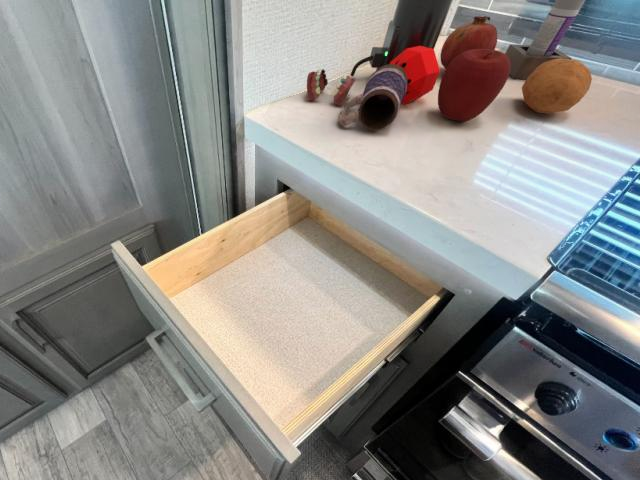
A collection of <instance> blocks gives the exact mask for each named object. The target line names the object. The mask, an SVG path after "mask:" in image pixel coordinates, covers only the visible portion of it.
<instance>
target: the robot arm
mask: <svg viewBox="0 0 640 480" xmlns="http://www.w3.org/2000/svg"><path fill="white" fill-rule="evenodd" d="M452 3H453V0H397V4H396V8H395V11H394V16H393V18H392V19H391V20H390V21H389V23H388V25H387V30H386V33H385V36H384V41H383V44H382V47H381V46H372V47H371V52H370V56H367V57H364V58H362V59H360V60H359V61H357V62H356V63H355V64H354V66H353V68H352V70H351V73H350V75H349V76H350V77H354V76H355V73H356V71H357V69H358V68H359V67H360V66H361V65H362V64H365V63H368V62H369V64H370V67H371V69H375V71H376V70H377V69H378V68H380V67H382V66H384V65H388V64H390V62H391V61H392V60H393V59H395V58H396V57H397V56H398V55H399V54H401V53H402V52H403V51H404V50H405V49H407V48H412V47H416V46H423V47H427V48H431V49H434V50H435V47H436V44H437V42H438V40H439V37H440V35H441V32H442V29H443V26H444V24H445V22H446V19H447V17H448V13H449V12H450V8H451V6H452Z"/></svg>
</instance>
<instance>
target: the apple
mask: <svg viewBox="0 0 640 480" xmlns="http://www.w3.org/2000/svg"><path fill="white" fill-rule="evenodd" d="M505 53H506V52H503V51H500V50H496V49H495V50H491V49H473V50H468V51H465V52H463V53H462V54H460V55H458V56H456V57H455V58H454V59H453V60H452V61H451V62H450V64H449V65H448V66H447V68H444V72H443V74H442V76H441V80H440V83H439V87H438V93H437V107H438V110H439V112H440V114H441V115H442V116H443V117H445V118H447V119H450V120H453V121H458V122H469V121H471V120H473V119H475V118H477V117H478V116H479V115H481V114H482V113H483V112H484V111H485V110H487V109H488V107H489V106H490V105H491V104H492V103H493V102H494V101H495V100H496V98H497V97H498V96H499V94H500V93H501V91H502V90H503V88H504V87H505V85H506V83H507V81H508V80H509V76H510V75H509V73H510V60H509V58H508V56H507V55H506V54H505Z"/></svg>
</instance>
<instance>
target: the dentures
mask: <svg viewBox="0 0 640 480" xmlns="http://www.w3.org/2000/svg"><path fill="white" fill-rule="evenodd" d="M355 82H356V79H355V78H354V77H353V78H351V76H350V75H349V74H347V73H344V75H343V76H342V78H340V81H339V82H338V83H337V85H336V87H335V88H334V89H333V91H332V93H331V94H332V96H333V102H334V103H335V104H336V105H338V106H340V105H341V104H342V102H343V101H344V100H345V98H346V97H347V95H348V94H349V92H350V90H351V89H352V87H353V86H354V83H355ZM328 84H329V81H328V78H327V74H326V70H325V68H319V69H318V70H316V71H314V70H313V71H311V72H308V74H307V78H306V92H307V100H308V102H309V101H313V100H316V99H317V98H318V97H319V96H320V94H321V93H322V91H324V90H325V89H326V87H327V85H328Z"/></svg>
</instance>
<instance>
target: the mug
mask: <svg viewBox="0 0 640 480" xmlns="http://www.w3.org/2000/svg"><path fill="white" fill-rule="evenodd" d="M407 82H408V79H407V75H406V72H405V71H404V69H403V68H401V67H400V66H398V65H394V64H388V65H384V66H382V67H380V68H378V69H377V70H376V69H375V70H374V71H373V72H372V74H371V76H370V77H369V78H368V80H367V82H366V83H365V87H364V90H363V93H361V94H358V95H356V96H353V97H351V98H349V99H348V100H346V102H345V104H344V106H343V107H342V109H341V110H340V112H339V113H338V117H337V121H338V123H339V125H340V127H346V126H349V125H352V124H353V123H355V122H356V121H357V120H359V123H360V124H361V125H362V127H363V128H365V129H366V130H369V131H372V132H374V131H380V130H381V131H382V130H383V129H386V128H387V127H388V126H389V125H391V124H392V123H393V122H394V120H395V119H396V117H397V115H398V113H399V110H400V106H401V105H402V104H401V103H402V101H403V99H404V96H405V94H406V89H407ZM358 105H359V106H358ZM355 106H358V108H357V109H355V110H353V112H351V113H350V114H348V113H349V111H350V109H351V108H353V107H355Z"/></svg>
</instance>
